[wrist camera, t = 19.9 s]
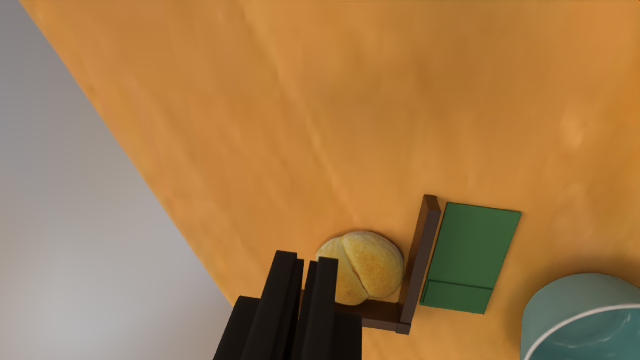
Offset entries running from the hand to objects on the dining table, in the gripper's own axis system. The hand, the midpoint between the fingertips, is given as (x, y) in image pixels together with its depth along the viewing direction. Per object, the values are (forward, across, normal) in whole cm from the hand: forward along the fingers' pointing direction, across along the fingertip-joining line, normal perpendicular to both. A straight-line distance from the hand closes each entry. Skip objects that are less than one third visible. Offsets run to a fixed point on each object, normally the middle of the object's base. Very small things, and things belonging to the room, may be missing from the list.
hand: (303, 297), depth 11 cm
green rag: (+27, -15, +17) cm, 35 cm away
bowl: (+27, -27, +21) cm, 44 cm away
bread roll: (+27, -4, +19) cm, 34 cm away
